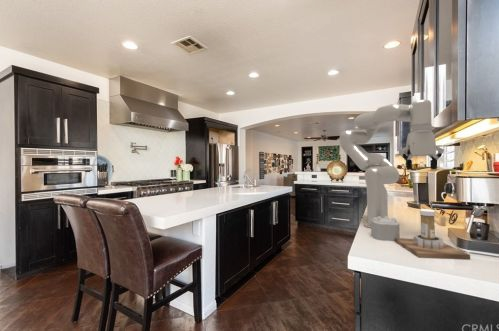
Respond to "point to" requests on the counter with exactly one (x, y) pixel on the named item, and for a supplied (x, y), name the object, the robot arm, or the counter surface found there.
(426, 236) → the sprinkles bottle
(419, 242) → the socket ring
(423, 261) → the counter surface
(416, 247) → the walnut board
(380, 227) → the lumpy-topped squat cylinder
